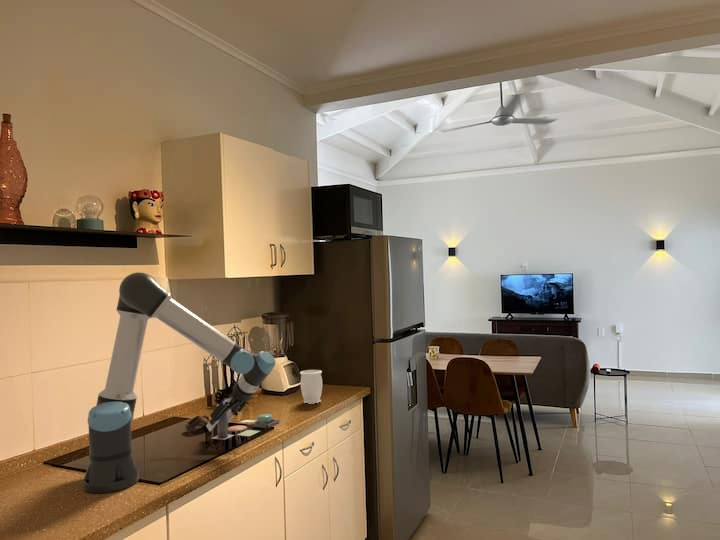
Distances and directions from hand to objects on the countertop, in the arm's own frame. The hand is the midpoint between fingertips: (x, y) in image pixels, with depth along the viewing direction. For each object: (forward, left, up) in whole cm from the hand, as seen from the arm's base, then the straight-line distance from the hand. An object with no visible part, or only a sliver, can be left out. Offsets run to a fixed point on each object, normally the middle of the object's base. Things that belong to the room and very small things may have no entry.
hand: (216, 425), depth 203 cm
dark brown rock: (+9, +9, -5) cm, 14 cm away
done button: (+13, -16, -2) cm, 21 cm away
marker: (-2, -3, -4) cm, 5 cm away
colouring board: (+6, -8, -5) cm, 11 cm away
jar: (+56, -30, -5) cm, 64 cm away
